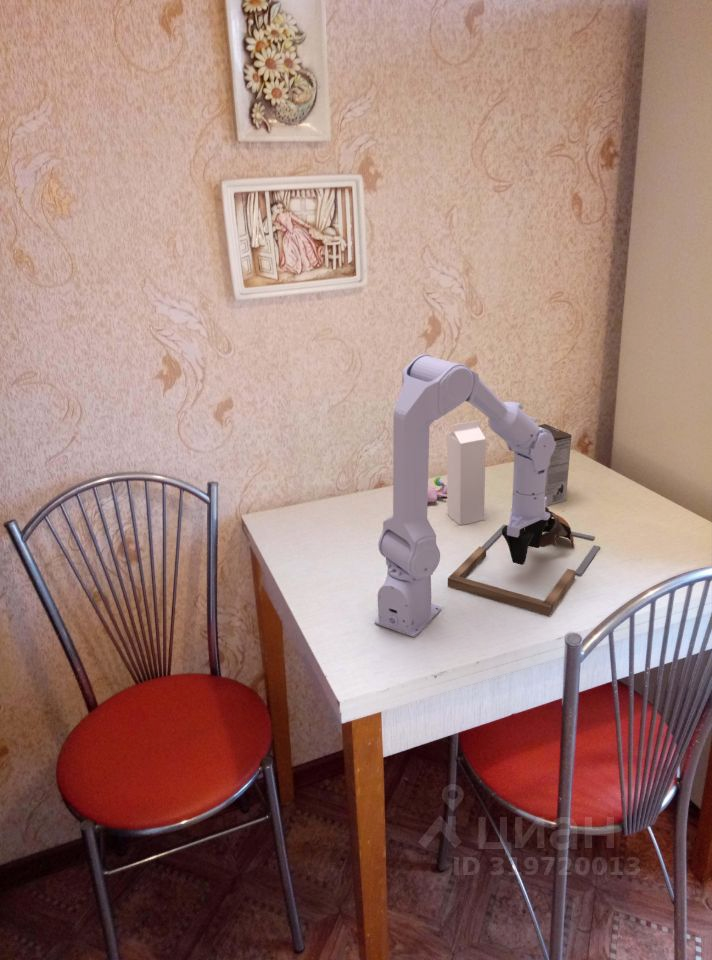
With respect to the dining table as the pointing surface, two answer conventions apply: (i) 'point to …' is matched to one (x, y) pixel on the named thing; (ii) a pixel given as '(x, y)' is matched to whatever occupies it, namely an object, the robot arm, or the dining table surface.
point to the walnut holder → (505, 596)
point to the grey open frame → (575, 534)
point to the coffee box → (557, 466)
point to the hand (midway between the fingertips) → (525, 554)
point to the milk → (466, 473)
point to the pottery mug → (555, 531)
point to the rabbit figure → (439, 493)
